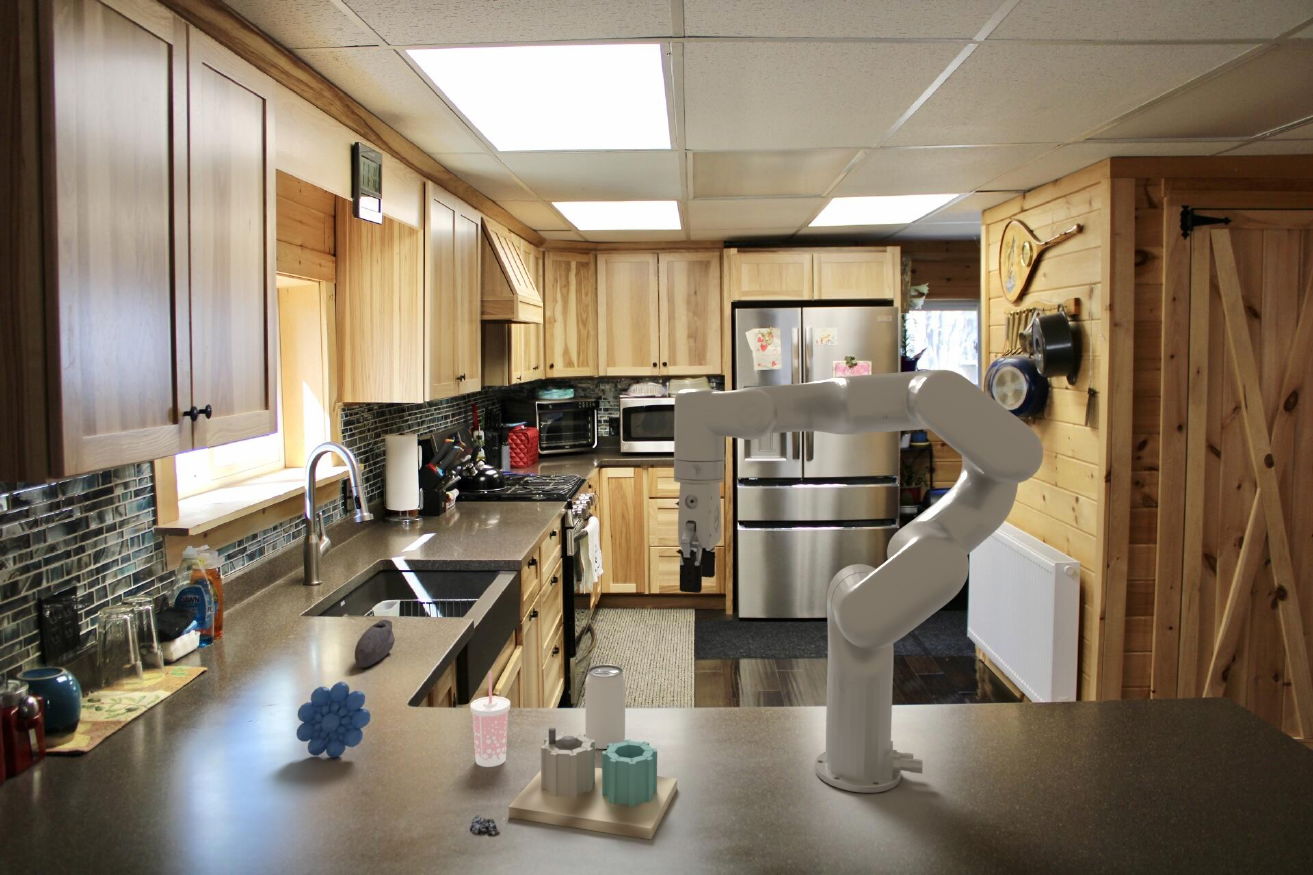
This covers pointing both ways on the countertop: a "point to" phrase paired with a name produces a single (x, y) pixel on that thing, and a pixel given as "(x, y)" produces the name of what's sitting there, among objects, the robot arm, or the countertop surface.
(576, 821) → the board
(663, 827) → the countertop surface
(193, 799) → the countertop surface
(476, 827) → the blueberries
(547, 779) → the gear
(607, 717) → the can
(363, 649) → the perforated stone tool
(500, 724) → the beverage cup
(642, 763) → the teal gear
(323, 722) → the blue flower ornament
